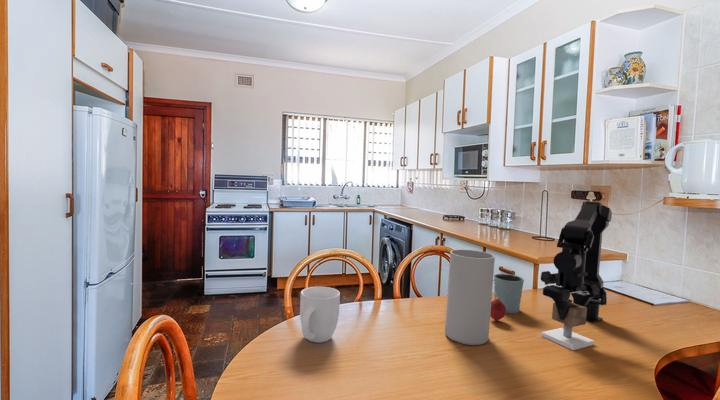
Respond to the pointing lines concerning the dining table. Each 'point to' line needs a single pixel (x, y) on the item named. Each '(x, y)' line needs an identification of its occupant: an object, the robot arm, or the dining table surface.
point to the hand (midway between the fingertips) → (568, 318)
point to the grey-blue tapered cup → (508, 291)
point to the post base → (567, 338)
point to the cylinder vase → (469, 296)
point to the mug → (319, 313)
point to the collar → (572, 315)
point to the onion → (497, 309)
